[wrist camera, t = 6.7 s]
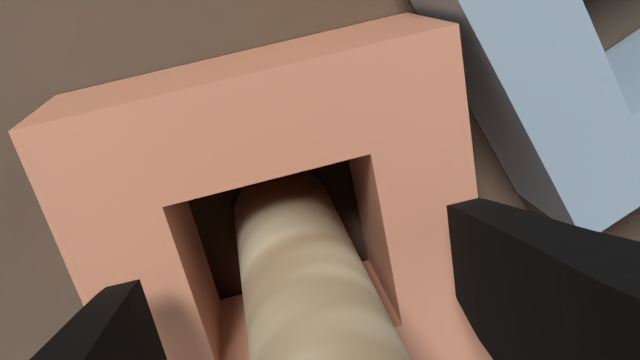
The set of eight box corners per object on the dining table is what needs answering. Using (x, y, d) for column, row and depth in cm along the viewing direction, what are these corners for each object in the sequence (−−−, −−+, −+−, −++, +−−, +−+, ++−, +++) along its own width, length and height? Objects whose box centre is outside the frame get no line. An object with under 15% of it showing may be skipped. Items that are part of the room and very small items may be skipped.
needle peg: (327, 159, 14) (468, 408, 6) (333, 245, 15) (463, 549, 7) (227, 173, 13) (254, 453, 6) (241, 260, 14) (278, 594, 7)
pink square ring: (407, 12, 13) (458, 23, 10) (448, 302, 16) (497, 372, 13) (55, 95, 12) (8, 131, 10) (167, 381, 15) (155, 472, 12)
